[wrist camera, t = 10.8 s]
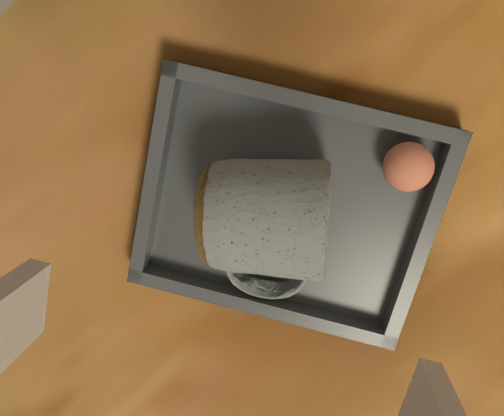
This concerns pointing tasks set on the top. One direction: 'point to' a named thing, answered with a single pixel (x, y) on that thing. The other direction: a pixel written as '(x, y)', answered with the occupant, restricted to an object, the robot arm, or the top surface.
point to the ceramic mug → (264, 222)
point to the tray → (341, 203)
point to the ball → (408, 166)
